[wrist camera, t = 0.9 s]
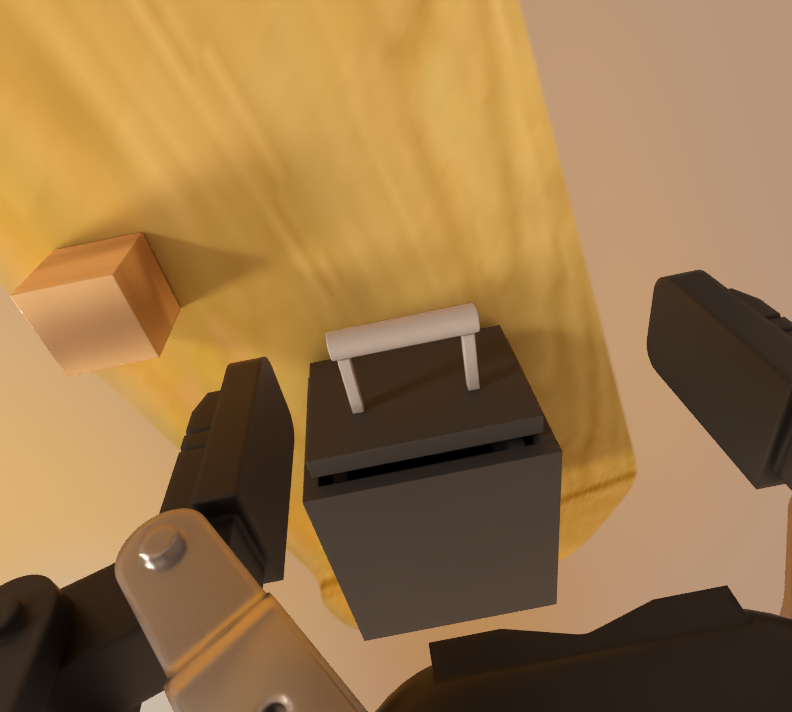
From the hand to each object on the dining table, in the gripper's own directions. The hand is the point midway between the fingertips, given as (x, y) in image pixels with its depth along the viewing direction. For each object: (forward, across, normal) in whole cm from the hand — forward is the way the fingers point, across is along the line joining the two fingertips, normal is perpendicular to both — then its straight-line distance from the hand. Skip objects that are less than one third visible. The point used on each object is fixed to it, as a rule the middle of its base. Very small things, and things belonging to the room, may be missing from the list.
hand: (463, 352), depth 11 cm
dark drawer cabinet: (+18, +1, +20) cm, 27 cm away
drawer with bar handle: (+17, +1, +15) cm, 22 cm away
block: (+17, +15, +4) cm, 23 cm away
